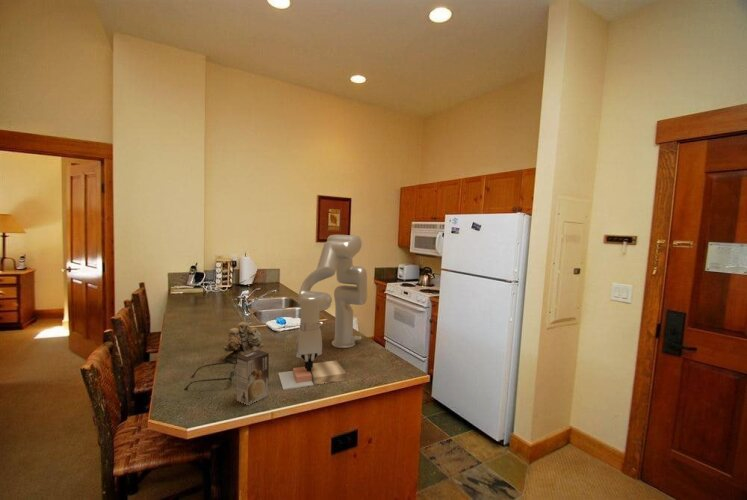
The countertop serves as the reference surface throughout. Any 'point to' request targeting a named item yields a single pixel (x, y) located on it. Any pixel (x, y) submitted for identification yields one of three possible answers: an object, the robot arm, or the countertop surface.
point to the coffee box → (252, 377)
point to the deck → (327, 372)
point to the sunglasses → (215, 379)
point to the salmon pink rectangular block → (302, 375)
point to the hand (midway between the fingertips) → (308, 369)
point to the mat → (291, 381)
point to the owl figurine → (242, 341)
